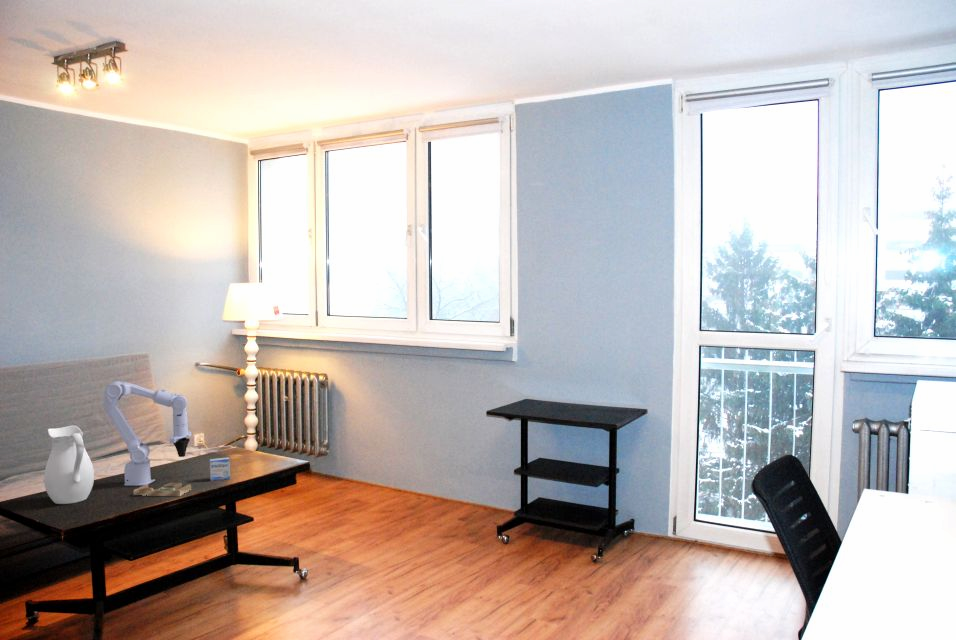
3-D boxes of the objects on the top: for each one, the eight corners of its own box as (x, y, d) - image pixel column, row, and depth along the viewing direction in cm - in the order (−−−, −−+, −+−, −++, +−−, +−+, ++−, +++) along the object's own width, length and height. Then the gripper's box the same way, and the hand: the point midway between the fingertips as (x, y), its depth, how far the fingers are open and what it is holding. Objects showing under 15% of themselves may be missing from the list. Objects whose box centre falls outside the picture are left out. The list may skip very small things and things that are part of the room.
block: (163, 494, 295) (163, 486, 295) (171, 491, 300) (170, 482, 300) (174, 495, 294) (174, 486, 294) (182, 491, 299) (182, 483, 299)
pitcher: (40, 500, 291) (36, 429, 290) (88, 491, 302) (84, 422, 301) (56, 513, 273) (51, 437, 272) (106, 503, 284) (102, 430, 283)
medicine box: (210, 481, 314) (209, 460, 313) (210, 479, 318) (209, 458, 317) (230, 479, 316) (229, 458, 316) (229, 476, 321) (228, 456, 320)
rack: (133, 495, 294) (133, 488, 294) (146, 489, 303) (145, 482, 303) (180, 496, 292) (179, 488, 292) (191, 489, 301) (190, 482, 301)
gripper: (180, 427, 309) (182, 460, 310) (197, 421, 323) (199, 452, 324) (164, 427, 310) (166, 460, 310) (181, 421, 324) (183, 452, 325)
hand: (181, 456), depth 317 cm, fingers closed
